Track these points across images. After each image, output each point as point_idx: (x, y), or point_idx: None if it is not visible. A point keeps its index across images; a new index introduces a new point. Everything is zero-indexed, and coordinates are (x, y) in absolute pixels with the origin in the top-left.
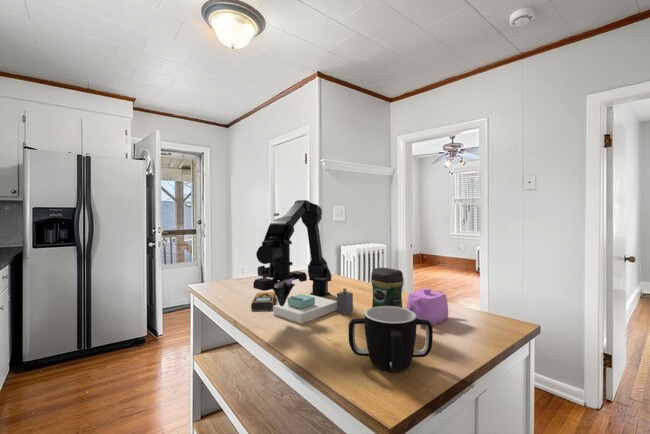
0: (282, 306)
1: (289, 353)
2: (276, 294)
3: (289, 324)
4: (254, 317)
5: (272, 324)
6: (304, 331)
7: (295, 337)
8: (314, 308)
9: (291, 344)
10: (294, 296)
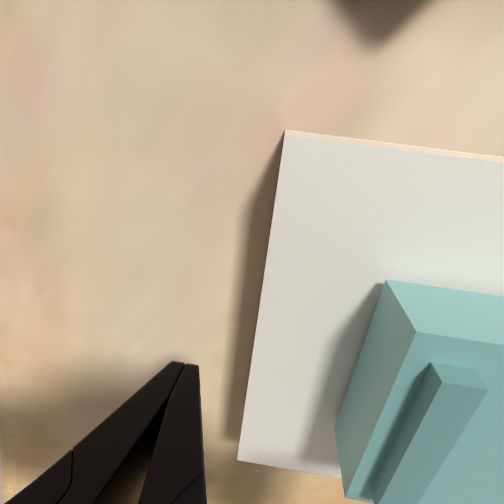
0: (325, 248)
1: (13, 485)
2: (38, 497)
3: (198, 362)
4: (111, 23)
5: (126, 282)
6: None
7: None
8: None
9: None
10: (460, 424)
